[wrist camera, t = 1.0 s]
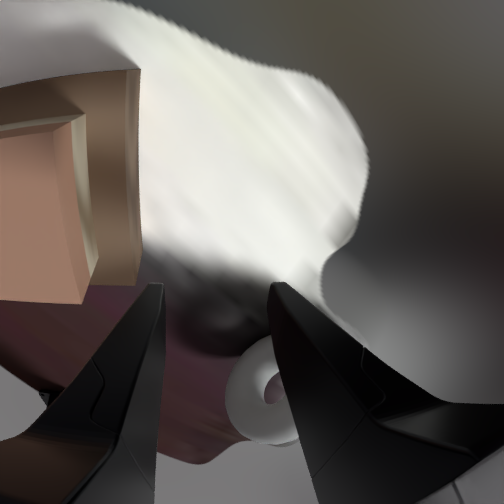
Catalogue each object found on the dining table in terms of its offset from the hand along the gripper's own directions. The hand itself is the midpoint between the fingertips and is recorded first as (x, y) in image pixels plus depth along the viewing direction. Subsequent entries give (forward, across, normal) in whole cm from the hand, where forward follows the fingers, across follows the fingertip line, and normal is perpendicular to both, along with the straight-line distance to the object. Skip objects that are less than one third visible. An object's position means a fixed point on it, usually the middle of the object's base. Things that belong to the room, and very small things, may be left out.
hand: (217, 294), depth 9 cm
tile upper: (+6, +10, 0) cm, 12 cm away
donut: (+12, -6, +16) cm, 21 cm away
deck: (+12, +11, 0) cm, 16 cm away
